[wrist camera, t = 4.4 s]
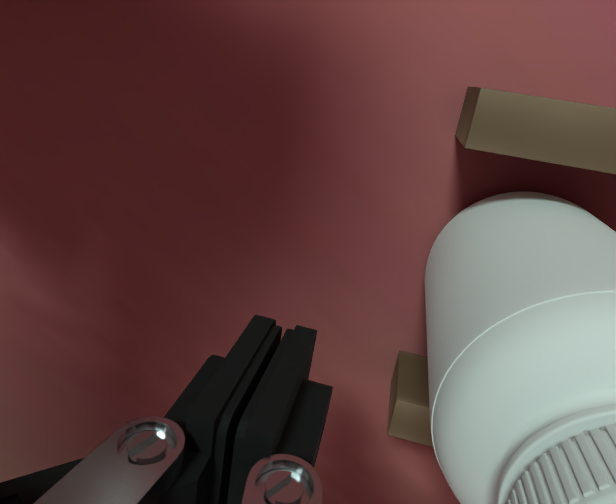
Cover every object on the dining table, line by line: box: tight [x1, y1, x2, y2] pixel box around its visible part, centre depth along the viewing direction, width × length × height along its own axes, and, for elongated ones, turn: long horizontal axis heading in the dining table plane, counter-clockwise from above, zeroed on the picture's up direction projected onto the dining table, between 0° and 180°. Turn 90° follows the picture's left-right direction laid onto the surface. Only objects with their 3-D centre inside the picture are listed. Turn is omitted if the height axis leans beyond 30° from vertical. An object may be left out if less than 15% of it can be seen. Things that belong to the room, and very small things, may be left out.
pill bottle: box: [425, 191, 616, 504], centre depth 14 cm, size 8×8×15 cm
